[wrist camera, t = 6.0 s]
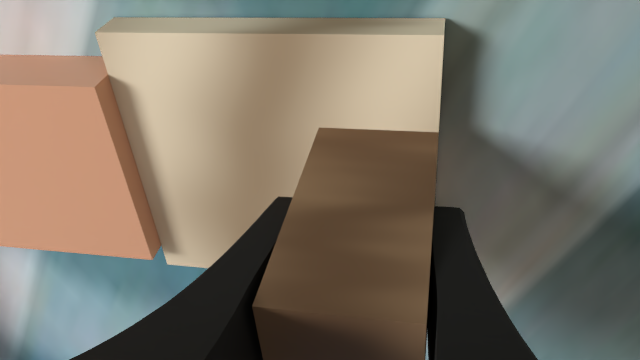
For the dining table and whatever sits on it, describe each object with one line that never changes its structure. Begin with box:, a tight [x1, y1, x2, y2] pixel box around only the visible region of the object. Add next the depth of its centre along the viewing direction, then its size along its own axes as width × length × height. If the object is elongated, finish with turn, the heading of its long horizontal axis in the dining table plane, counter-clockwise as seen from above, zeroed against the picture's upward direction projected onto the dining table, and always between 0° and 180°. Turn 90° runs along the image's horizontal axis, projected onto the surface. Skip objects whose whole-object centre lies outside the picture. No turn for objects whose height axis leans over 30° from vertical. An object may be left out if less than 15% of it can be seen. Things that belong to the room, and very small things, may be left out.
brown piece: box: [95, 17, 445, 360], centre depth 14 cm, size 8×8×7 cm
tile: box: [0, 55, 161, 260], centre depth 18 cm, size 6×6×2 cm
